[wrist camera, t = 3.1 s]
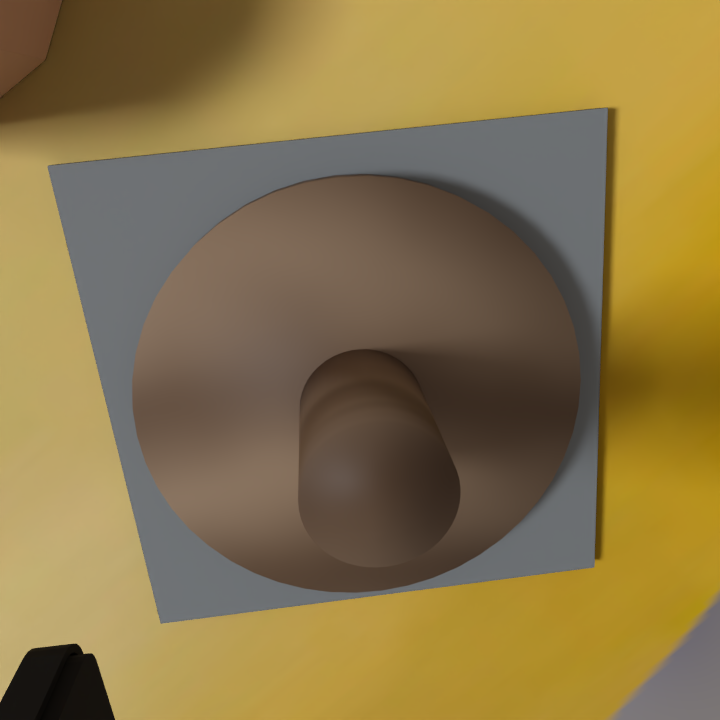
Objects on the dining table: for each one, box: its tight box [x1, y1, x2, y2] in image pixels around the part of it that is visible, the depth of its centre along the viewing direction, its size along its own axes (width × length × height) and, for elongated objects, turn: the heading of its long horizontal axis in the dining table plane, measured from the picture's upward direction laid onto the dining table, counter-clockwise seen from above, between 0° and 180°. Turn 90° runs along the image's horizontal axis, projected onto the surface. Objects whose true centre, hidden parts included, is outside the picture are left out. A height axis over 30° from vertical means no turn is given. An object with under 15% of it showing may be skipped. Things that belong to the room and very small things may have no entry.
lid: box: [132, 174, 581, 593], centre depth 18 cm, size 13×13×6 cm
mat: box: [48, 108, 608, 623], centre depth 21 cm, size 15×15×1 cm
